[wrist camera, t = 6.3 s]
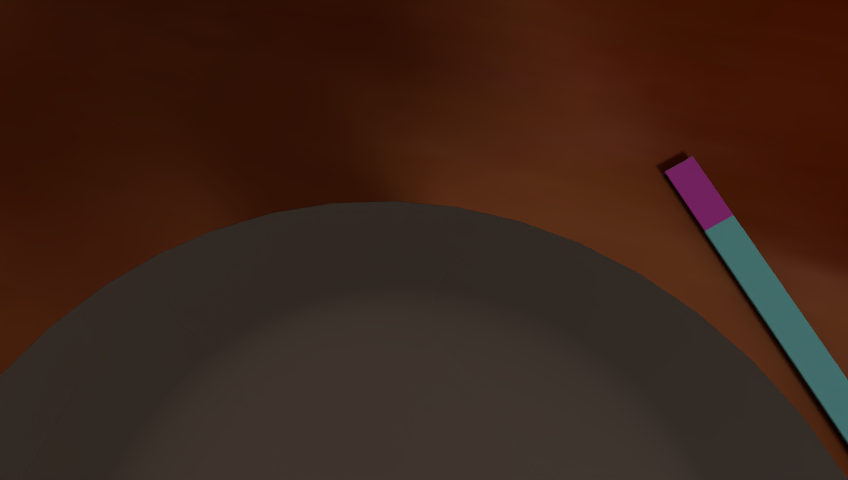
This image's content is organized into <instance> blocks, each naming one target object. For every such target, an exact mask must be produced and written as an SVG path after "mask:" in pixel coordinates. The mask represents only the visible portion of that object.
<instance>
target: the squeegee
mask: <svg viewBox="0 0 848 480" xmlns="http://www.w3.org/2000/svg"><path fill="white" fill-rule="evenodd" d="M665 174H666V175H667V176H668V178H669V179H670V181H671V182H672V184H673V185H674V187H675V188H676V190H677V191H678V192H679V194H680V195H681V197H682V198H683V200H684V201H685V203H686V204H687V206H688V207H689V209H690V210H691V212H692V213H693V215H694V216H695V218H696V219H697V221H698V222H699V223H700V225H701V226H702V228H703V229H704V233H705V234H706V235H707V237H708V238H709V240H710V241H711V243H712V244H713V246H714V247H715V249H716V250H717V252H718V253H719V255H720V256H721V258H722V259H723V261H724V262H725V264H726V265H727V267H728V268H729V269H730V271H731V272H732V274H733V275H734V277H735V278H736V280H737V281H738V283H739V284H740V286H741V287H742V289H743V290H744V292H745V293H746V295H747V296H748V298H749V299H750V301H751V302H752V304H753V305H754V306H755V308H756V309H757V311H758V312H759V314H760V315H761V317H762V318H763V320H764V321H765V323H766V324H767V326H768V327H769V329H770V330H771V332H772V333H773V335H774V336H775V338H776V339H777V340H778V342H779V343H780V345H781V346H782V348H783V349H784V351H785V352H786V354H787V355H788V357H789V358H790V360H791V361H792V363H793V364H794V366H795V367H796V369H797V370H798V372H799V373H800V374H801V376H802V377H803V379H804V380H805V382H806V383H807V385H808V386H809V388H810V389H811V391H812V392H813V394H814V395H815V397H816V398H817V400H818V401H819V403H820V404H821V406H822V407H823V409H824V410H825V411H826V413H827V414H828V416H829V417H830V419H831V420H832V422H833V423H834V425H835V426H836V428H837V429H838V431H839V432H840V434H841V435H842V437H843V438H844V440H845V441H846V443H847V444H848V380H847V378H846V377H845V375H844V374H843V372H842V371H841V370H840V368H839V367H838V365H837V364H836V362H835V361H834V360H833V358H832V357H831V355H830V354H829V352H828V351H827V349H826V348H825V347H824V345H823V344H822V342H821V341H820V339H819V338H818V336H817V335H816V334H815V332H814V331H813V329H812V328H811V326H810V325H809V323H808V322H807V321H806V319H805V318H804V316H803V315H802V313H801V312H800V310H799V309H798V308H797V306H796V305H795V303H794V302H793V300H792V299H791V297H790V296H789V295H788V293H787V292H786V290H785V289H784V287H783V286H782V284H781V283H780V282H779V280H778V279H777V277H776V276H775V274H774V273H773V271H772V270H771V269H770V267H769V266H768V264H767V263H766V261H765V260H764V258H763V257H762V256H761V254H760V253H759V251H758V250H757V248H756V247H755V245H754V244H753V243H752V241H751V240H750V238H749V237H748V235H747V234H746V232H745V231H744V230H743V228H742V227H741V225H740V224H739V223H738V221H737V220H736V218H735V217H734V215H733V214H732V212H731V211H730V209H729V208H728V206H727V205H726V204H725V202H724V201H723V199H722V198H721V196H720V195H719V193H718V192H717V191H716V189H715V188H714V186H713V185H712V183H711V182H710V181H709V179H708V178H707V176H706V175H705V173H704V172H703V170H702V169H701V168H700V166H699V165H698V163H697V162H696V160H695V159H694V157H693V156H692V157H690V158H688V159H687V160H685V161H683V162H681V163H679V164H678V165H676V166H674V167H672V168H670V169H669V170H667V171H665V172H664V173H663V175H665Z"/></svg>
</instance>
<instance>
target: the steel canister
mask: <svg viewBox="0 0 848 480" xmlns="http://www.w3.org/2000/svg"><path fill="white" fill-rule="evenodd" d="M0 480H848V479H847V478H846V476H845V475H844V474H843V472H842V471H841V469H840V468H839V467H838V465H837V464H836V462H835V461H834V460H833V458H832V457H831V455H830V454H829V453H828V451H827V450H826V448H825V447H824V446H823V444H822V443H821V441H820V440H819V439H818V437H817V436H816V434H815V433H814V432H813V430H812V429H811V427H810V426H809V425H808V423H807V422H806V420H805V419H804V418H803V416H802V415H801V414H800V413H799V412H798V411H797V409H796V408H795V407H794V406H793V405H792V404H791V403H790V402H789V401H788V400H787V398H786V397H785V396H784V395H783V394H782V393H781V392H780V391H779V390H778V389H777V387H776V386H775V385H774V384H773V383H772V382H771V381H770V380H769V379H768V378H767V376H766V375H765V374H764V373H763V372H762V371H761V370H760V369H759V368H758V366H757V365H756V364H755V363H754V362H753V361H752V360H751V359H750V358H749V357H748V356H746V355H745V354H744V353H743V352H742V351H741V350H739V349H738V348H737V347H736V346H735V345H734V344H733V343H731V342H730V341H729V340H728V339H727V338H726V337H725V336H723V335H722V334H721V333H720V332H719V331H718V330H716V329H715V328H714V327H713V326H712V325H711V324H710V323H708V322H707V321H706V320H705V319H704V318H703V317H702V316H700V315H699V314H698V313H697V312H695V311H694V310H692V309H691V308H689V307H688V306H686V305H685V304H684V303H682V302H681V301H679V300H678V299H676V298H675V297H673V296H672V295H670V294H669V293H667V292H666V291H664V290H663V289H661V288H660V287H658V286H657V285H655V284H654V283H652V282H651V281H650V280H648V279H647V278H645V277H644V276H642V275H641V274H639V273H637V272H635V271H633V270H631V269H629V268H627V267H625V266H623V265H621V264H619V263H617V262H616V261H614V260H612V259H610V258H608V257H606V256H604V255H602V254H600V253H598V252H596V251H594V250H592V249H590V248H588V247H586V246H584V245H582V244H580V243H578V242H575V241H572V240H569V239H567V238H564V237H561V236H558V235H556V234H553V233H550V232H547V231H545V230H542V229H539V228H536V227H534V226H531V225H528V224H525V223H523V222H520V221H516V220H512V219H507V218H503V217H498V216H494V215H489V214H485V213H481V212H476V211H472V210H467V209H463V208H458V207H450V206H440V205H429V204H419V203H408V202H397V201H386V202H356V203H331V204H325V205H319V206H313V207H307V208H300V209H294V210H288V211H282V212H276V213H271V214H267V215H264V216H261V217H257V218H254V219H250V220H247V221H244V222H240V223H237V224H233V225H230V226H227V227H223V228H220V229H216V230H213V231H211V232H209V233H206V234H204V235H202V236H199V237H197V238H195V239H192V240H190V241H188V242H186V243H183V244H181V245H179V246H176V247H174V248H172V249H169V250H167V251H165V252H162V253H160V254H158V255H156V256H154V257H153V258H151V259H149V260H147V261H146V262H144V263H142V264H141V265H139V266H137V267H136V268H134V269H132V270H130V271H129V272H127V273H125V274H124V275H122V276H120V277H119V278H117V279H115V280H113V281H112V282H110V283H108V284H107V285H105V286H103V287H102V288H101V289H99V290H98V291H97V292H95V293H94V294H93V295H91V296H90V297H89V298H87V299H86V300H85V301H83V302H82V303H81V304H79V305H78V306H77V307H75V308H74V309H73V310H72V311H70V312H69V313H68V314H66V315H65V316H64V317H62V318H61V319H60V320H58V321H57V322H56V323H54V324H53V325H52V326H51V327H50V328H49V329H48V330H47V331H46V332H45V333H44V334H43V335H41V336H40V337H39V338H38V339H37V340H36V341H35V342H34V343H33V344H32V345H31V346H30V347H29V348H28V349H27V350H26V351H25V352H24V353H23V354H22V355H21V356H20V357H19V358H18V359H16V360H15V361H14V362H13V363H12V364H11V365H10V366H9V367H8V368H7V369H6V370H5V371H4V372H3V374H2V375H1V376H0Z"/></svg>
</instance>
